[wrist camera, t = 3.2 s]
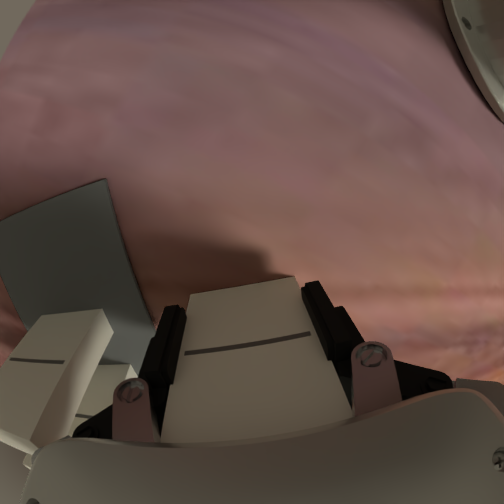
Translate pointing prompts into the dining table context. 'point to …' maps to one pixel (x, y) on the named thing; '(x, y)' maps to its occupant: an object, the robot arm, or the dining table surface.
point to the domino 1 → (50, 377)
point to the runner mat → (76, 268)
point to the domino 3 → (251, 368)
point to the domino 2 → (97, 395)
